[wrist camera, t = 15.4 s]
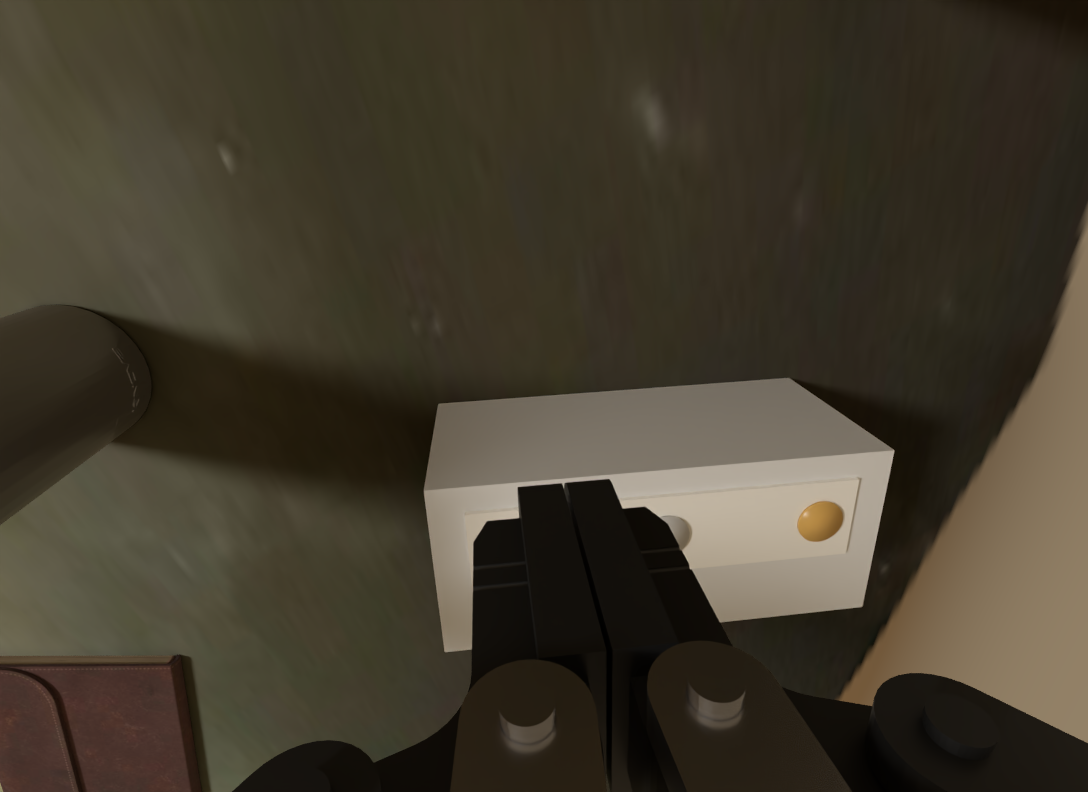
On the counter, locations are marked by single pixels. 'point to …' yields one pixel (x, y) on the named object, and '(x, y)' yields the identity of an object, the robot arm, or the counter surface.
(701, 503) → the button console
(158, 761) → the notebook
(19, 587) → the counter surface
